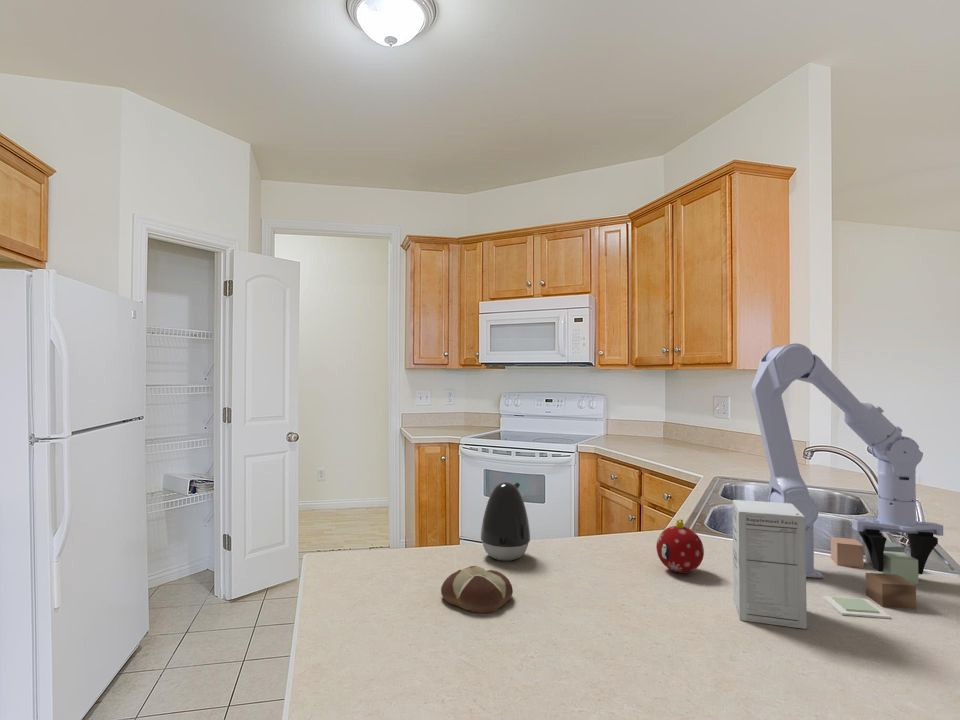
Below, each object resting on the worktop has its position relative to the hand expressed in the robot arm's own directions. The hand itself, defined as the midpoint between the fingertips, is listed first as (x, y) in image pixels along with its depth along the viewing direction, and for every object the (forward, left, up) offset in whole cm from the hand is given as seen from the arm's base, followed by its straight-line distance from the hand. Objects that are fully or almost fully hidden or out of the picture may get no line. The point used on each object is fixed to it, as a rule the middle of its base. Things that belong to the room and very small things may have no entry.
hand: (897, 571), depth 102 cm
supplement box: (-30, -21, -2) cm, 37 cm away
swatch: (-15, -16, -1) cm, 22 cm away
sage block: (0, 0, -2) cm, 2 cm away
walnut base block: (-8, -12, -2) cm, 15 cm away
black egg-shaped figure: (-74, -2, -2) cm, 74 cm away
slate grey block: (+2, +8, -2) cm, 8 cm away
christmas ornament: (-40, -4, -2) cm, 40 cm away
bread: (-76, -24, -2) cm, 80 cm away
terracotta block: (-5, +8, -2) cm, 10 cm away
